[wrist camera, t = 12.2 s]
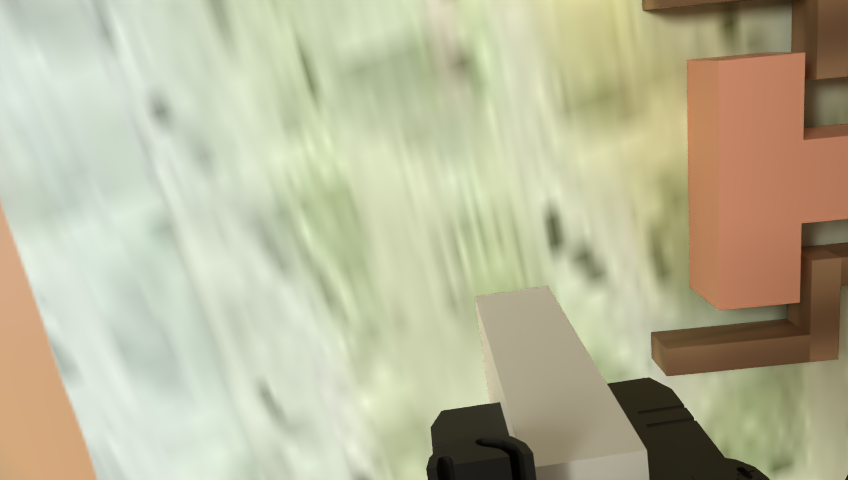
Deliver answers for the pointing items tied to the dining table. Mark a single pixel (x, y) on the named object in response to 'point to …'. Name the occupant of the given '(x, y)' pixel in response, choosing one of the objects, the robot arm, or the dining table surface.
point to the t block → (756, 177)
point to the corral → (820, 265)
